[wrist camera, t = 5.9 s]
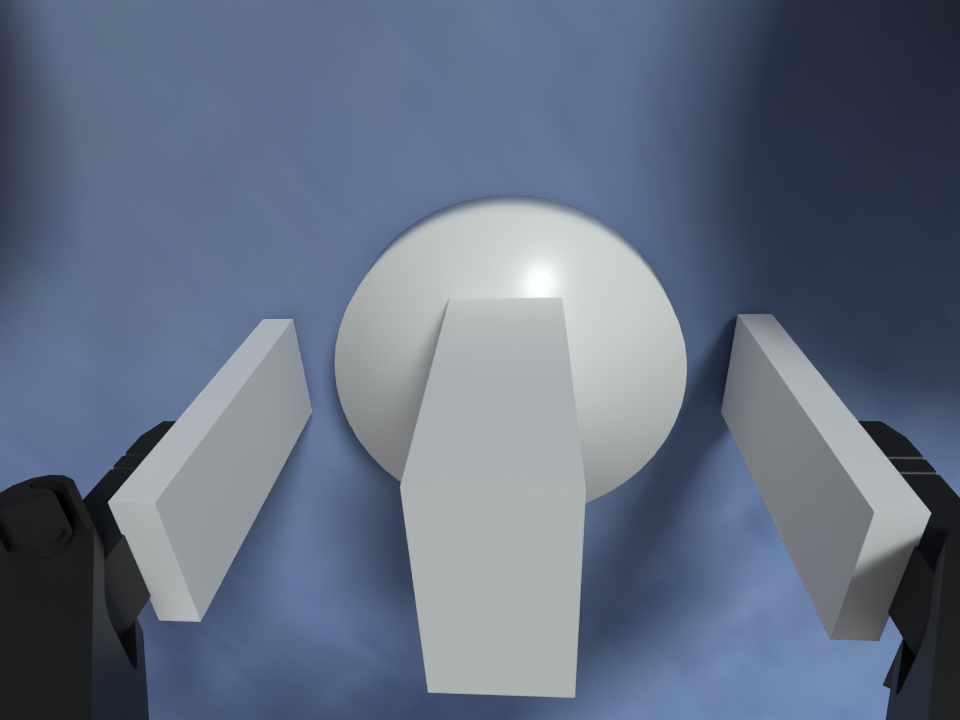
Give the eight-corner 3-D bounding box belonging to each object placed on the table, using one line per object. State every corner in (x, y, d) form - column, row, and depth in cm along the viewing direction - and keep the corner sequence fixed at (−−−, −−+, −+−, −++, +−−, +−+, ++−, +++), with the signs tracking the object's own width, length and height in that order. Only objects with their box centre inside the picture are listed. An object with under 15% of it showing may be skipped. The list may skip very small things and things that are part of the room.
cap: (372, 477, 18) (284, 747, 11) (326, 198, 14) (152, 368, 8) (656, 480, 17) (735, 766, 11) (692, 189, 13) (850, 365, 7)
